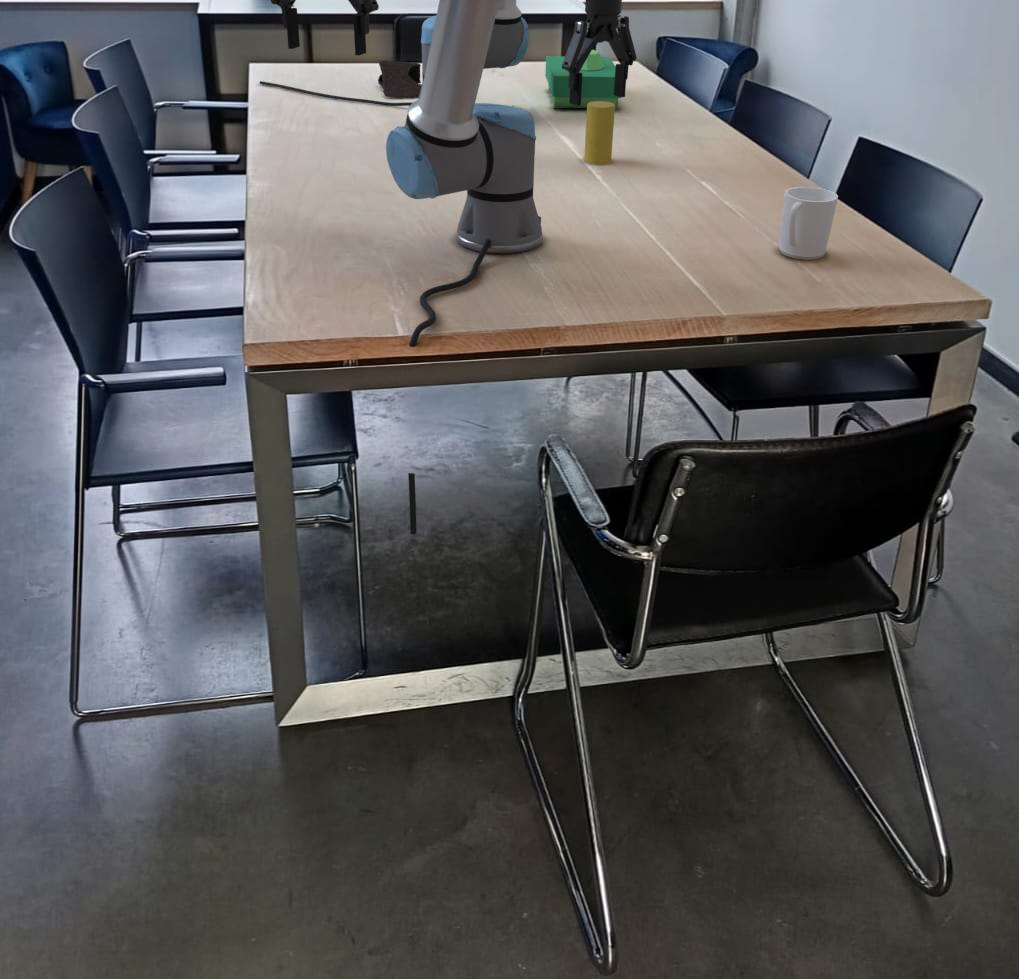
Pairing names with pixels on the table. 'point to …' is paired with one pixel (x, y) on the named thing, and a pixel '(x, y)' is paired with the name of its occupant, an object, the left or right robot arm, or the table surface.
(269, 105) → the table surface
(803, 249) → the mug
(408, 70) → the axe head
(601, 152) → the canister
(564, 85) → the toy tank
